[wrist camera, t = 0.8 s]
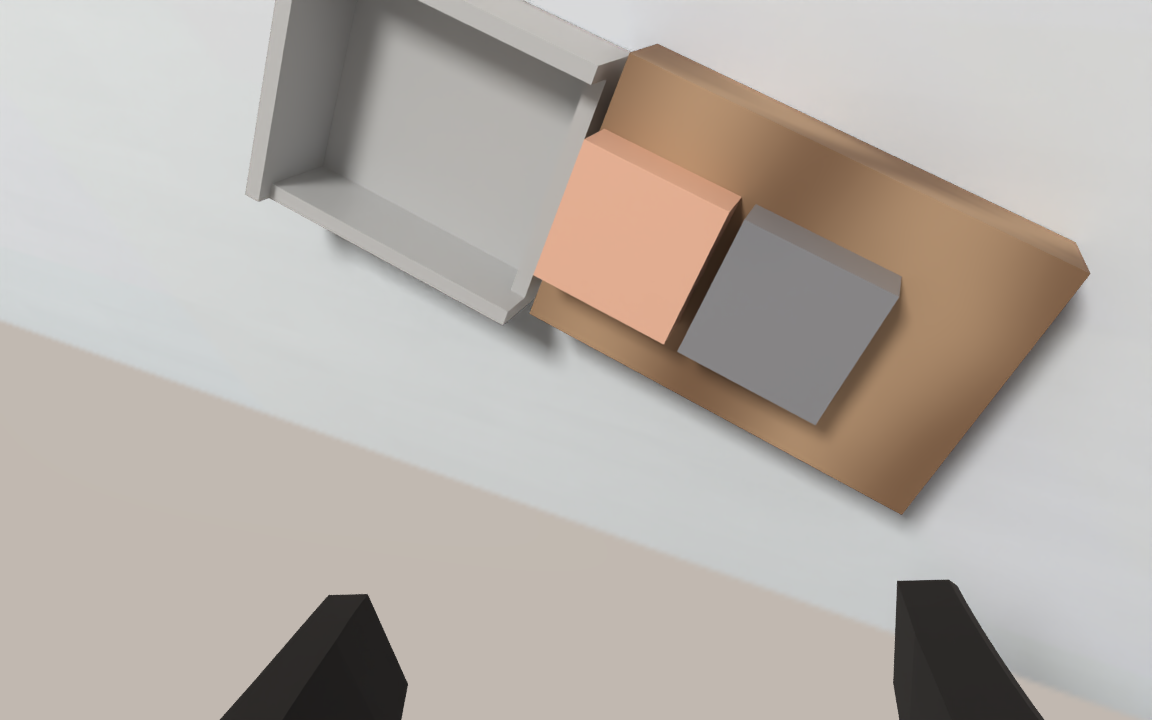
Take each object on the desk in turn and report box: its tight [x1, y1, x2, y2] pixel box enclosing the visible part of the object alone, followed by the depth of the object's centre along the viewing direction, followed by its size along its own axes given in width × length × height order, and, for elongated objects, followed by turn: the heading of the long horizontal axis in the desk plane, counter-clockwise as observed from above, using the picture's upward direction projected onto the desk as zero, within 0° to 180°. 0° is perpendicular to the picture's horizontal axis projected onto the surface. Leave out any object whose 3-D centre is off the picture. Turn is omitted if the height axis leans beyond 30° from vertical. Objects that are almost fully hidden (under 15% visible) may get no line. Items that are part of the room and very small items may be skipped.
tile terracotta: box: [533, 129, 741, 344], centre depth 22 cm, size 4×4×2 cm
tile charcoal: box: [677, 204, 902, 425], centre depth 22 cm, size 4×4×2 cm
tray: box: [245, 0, 630, 325], centre depth 25 cm, size 9×8×4 cm
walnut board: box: [529, 44, 1090, 515], centre depth 23 cm, size 12×8×2 cm, turn 69°
